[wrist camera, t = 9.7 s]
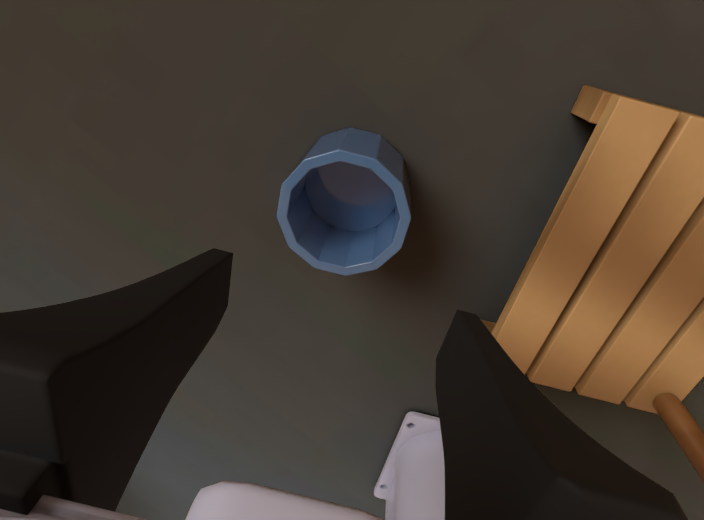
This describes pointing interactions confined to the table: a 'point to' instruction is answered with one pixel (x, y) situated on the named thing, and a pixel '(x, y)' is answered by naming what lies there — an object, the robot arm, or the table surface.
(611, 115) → the rack
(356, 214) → the blue faceted cup
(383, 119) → the table surface
